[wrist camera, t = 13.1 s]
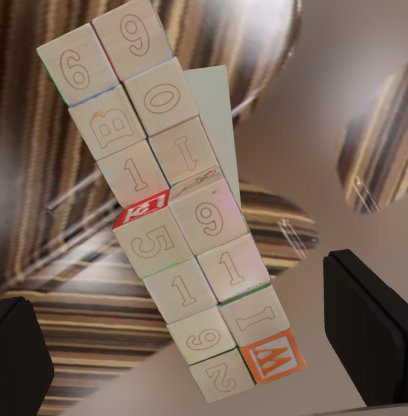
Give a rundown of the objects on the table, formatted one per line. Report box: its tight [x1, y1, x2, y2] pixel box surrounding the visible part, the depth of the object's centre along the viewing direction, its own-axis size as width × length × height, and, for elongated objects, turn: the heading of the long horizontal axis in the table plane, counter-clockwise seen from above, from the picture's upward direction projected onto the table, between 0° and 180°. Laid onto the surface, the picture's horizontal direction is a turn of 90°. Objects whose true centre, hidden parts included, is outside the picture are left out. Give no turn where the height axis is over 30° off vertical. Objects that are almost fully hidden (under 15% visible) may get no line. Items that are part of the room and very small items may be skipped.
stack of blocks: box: [36, 0, 307, 404], centre depth 22 cm, size 21×6×12 cm, turn 23°
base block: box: [183, 65, 241, 209], centre depth 30 cm, size 18×8×4 cm, turn 8°
